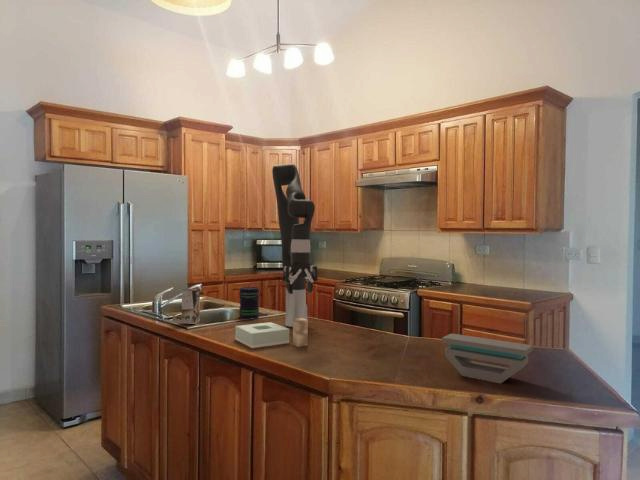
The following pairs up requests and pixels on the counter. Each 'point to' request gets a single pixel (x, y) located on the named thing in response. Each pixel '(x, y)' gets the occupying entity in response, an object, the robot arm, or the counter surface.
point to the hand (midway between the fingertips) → (300, 293)
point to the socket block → (262, 334)
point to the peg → (300, 332)
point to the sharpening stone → (485, 356)
